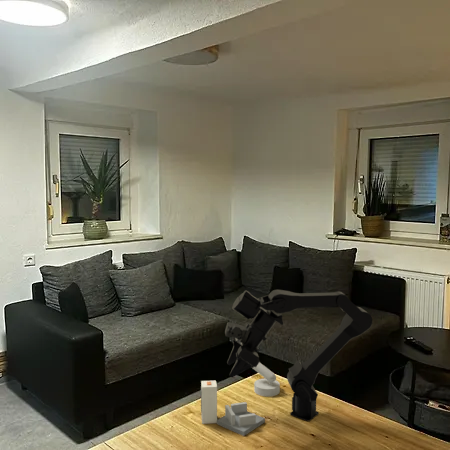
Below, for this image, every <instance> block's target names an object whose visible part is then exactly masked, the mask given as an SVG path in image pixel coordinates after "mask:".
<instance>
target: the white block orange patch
mask: <svg viewBox="0 0 450 450" xmlns="http://www.w3.org/2000/svg"><path fill="white" fill-rule="evenodd" d="M200 383H201V384H200V385H201V386H200V413H201V414H200V416H201V424H202V425H203V424H204V425H205V424H217V420H218V385H217V381H216V380H200Z"/></svg>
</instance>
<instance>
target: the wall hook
mask: <svg viewBox="0 0 450 450" xmlns="http://www.w3.org/2000/svg"><path fill="white" fill-rule="evenodd" d="M252 370H254V371H255V372H256V373H258V374H259V375H260V376H262V377H263V378H259V379H256V380H255V381H254V383H253V387H254V388H253V390H254V393H255V394H256V395H259V396H261V397H275V396H277V395H279V394H280V392H281V391H280V390H281V389H280V388H281V384H280V382H279V381H278V380H277V375H276V374H275V373H274V372H273V371H271V370H270V369H269V368H268V367H267V366H265V365H264V364H262V363H261V361H260V362H259V364H258V365H257V366H256V367H253V368H252Z"/></svg>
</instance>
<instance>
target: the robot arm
mask: <svg viewBox="0 0 450 450" xmlns="http://www.w3.org/2000/svg"><path fill="white" fill-rule="evenodd" d="M306 308H307V309H309V308H310V309H311V308H312V309H314V308H340V310H341V311H342V312H343V313H344V314H345V315H344V316H343V317H342V320H341V322H340V325H339V327H338V328H337V329H336V330H335V331H334V332H333V334H332V335H331V336H330V337H328V338H327V339H326V341H324V342H323V343H322V345H320V347H318V349H317V350H316V351H315V352H314V353H313V354H312V355H311V356H310V357H309V358H308V359H307V360H306V361H303V362H301V361H300V360H298V359H297V360H296V362H294V364H293V365H292V366H291V367H289V368H288V372H287V374H286V379H287V383H288V384H289V386H290V388H291V391H292V392H293V393H292V395H293V396H292V398H291V412H289V414H290V416H291V417H295V418H297V419H300V420H303V421H306V422H310V421H311V420H313V419H314V418H315V417H317V416H318V415H319V411H318V410H317V399H318V396H319V395H318V392H317V390H316V389H315V387H314V384H315V381H316V379H317V377H318V375H319V373H320V371H321V370H322V369H324V367H326V365H328V364H329V362H331V360H332V359H333V358H335V356H336V355H337V354H338V353H339V352H340V351H341V350H342V349H343V348H344V347H345V345H347V344H348V343H349V341H351V340H352V339H355V338H357V337H359V336H362V335H363V334H364V333H366V332H367V331H368V330H369V329H371V327H372V326H373V324H374V323H373V317H372V315H371V314H370V313H369V312H367V311H366V310H365V309H363V308H362V307H359V306H357V305H356V304H354V303H353V302H352V301H351V300H350V299H349V297H348V296H347V295H346V294H345V293H344V292H342V291H335V292H332V291H331V292H305V293H303V292H302V293H301V292H300V293H299V292H293V291H290V290H283V289H274V290H272V291H271V292H270V293H269V294H267V295H264V296H261V297H258V298H257V297H255V296H254V295H252V294H251V292H250V291H249V290H244V291H243V293H242V292H241V294H240V295H239V296H237V298H236V299H235V300H234V302H233V304H232V306H231V309H232V310H233V311H235V312H236V313H237V314H239V315H240V316H242V317H244V318H245V319H246V320H249V319H250V320H252V322H251V323H250V322H248V323H246V325H245V326H244V325H241V324H239V323H234V322H232V321H228V322H227V323H226V326H225V330H224V334H225V337H227V338H232V344H233V346H232V350H231V352H230V354H229V357H228V359H227V361H226V363H227V365H229V366H230V365H232V364H233V363H234V365H233V367H232V368H231V371H230V372H229V377H231V378H234V377H236V376H238V375H240V374H241V373H243V372H245V371H247V370H250V369H251V368H252V369H253V367H256V366H257V365H258V364H259V362H260V363H261V361H260V356H259V354H258V352H259V346H260V345H261V344H262V342H263V341H264V342H265V341H266V340H267V335H268V334H269V333H270V331H271V329H272V328H273V327H274V325H275V324H276V322H277V323H278V324H280V325H281V326H283V325H284V320H283V315H282V314H284V313H289V312H292V311H295V310H298V309H306Z"/></svg>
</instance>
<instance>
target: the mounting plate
mask: <svg viewBox="0 0 450 450" xmlns="http://www.w3.org/2000/svg"><path fill="white" fill-rule="evenodd" d="M224 412H225V415H223V416H221V417H220V418H217V423H216V425H218V426H220V427H223V428H224V429H226V430H229V431H231V432H234V433H236V434H239V435H240V436H242V437H244V436H246V435H247V434H249V433H251V432H252V431H253V430H255V429H257V428H259V427H260V426H261V425H263V424H264V423H266V418H265V417H262V416H260V415H257V414H256V413H253V412H250V411H248V403H247V402H246V401H243V402H235V403H231V404H230V405H229V404H225V405H224Z"/></svg>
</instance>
